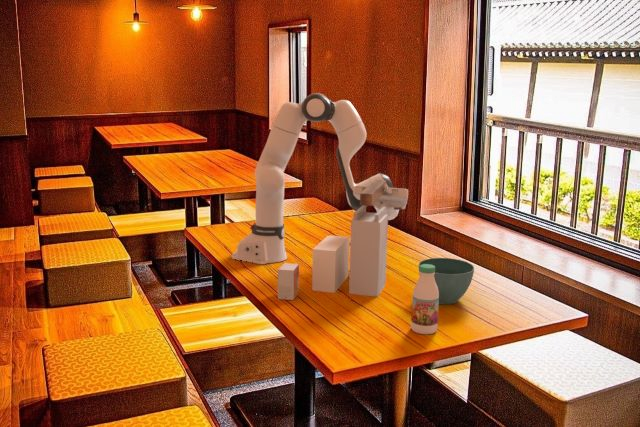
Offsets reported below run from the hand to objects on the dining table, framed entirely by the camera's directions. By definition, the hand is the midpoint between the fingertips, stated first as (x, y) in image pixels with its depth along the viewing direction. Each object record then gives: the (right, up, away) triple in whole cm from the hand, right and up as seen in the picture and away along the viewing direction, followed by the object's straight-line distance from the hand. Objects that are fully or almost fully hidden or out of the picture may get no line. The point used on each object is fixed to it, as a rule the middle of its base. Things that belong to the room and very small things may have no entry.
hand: (377, 186), depth 236 cm
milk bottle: (+10, -45, -39) cm, 60 cm away
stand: (-4, -36, -4) cm, 37 cm away
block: (-17, -35, +2) cm, 39 cm away
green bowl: (+21, -39, -14) cm, 47 cm away
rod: (-2, -4, -6) cm, 8 cm away
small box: (-31, -38, -12) cm, 51 cm away
